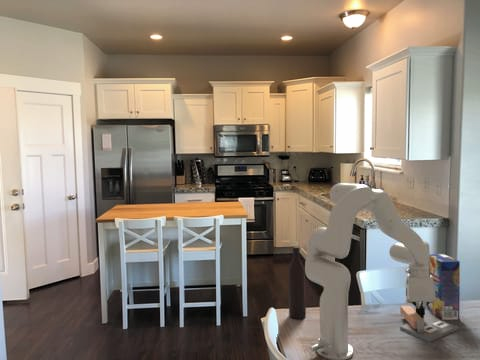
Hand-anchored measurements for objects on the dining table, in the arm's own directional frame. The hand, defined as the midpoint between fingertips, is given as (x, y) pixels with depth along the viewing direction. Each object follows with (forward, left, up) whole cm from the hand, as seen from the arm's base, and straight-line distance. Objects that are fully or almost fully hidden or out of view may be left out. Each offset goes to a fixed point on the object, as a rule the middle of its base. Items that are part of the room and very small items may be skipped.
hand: (420, 316), depth 150 cm
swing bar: (-4, +1, -1) cm, 4 cm away
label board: (-2, -5, -3) cm, 6 cm away
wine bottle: (-37, +32, -3) cm, 49 cm away
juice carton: (+16, +1, -3) cm, 16 cm away
